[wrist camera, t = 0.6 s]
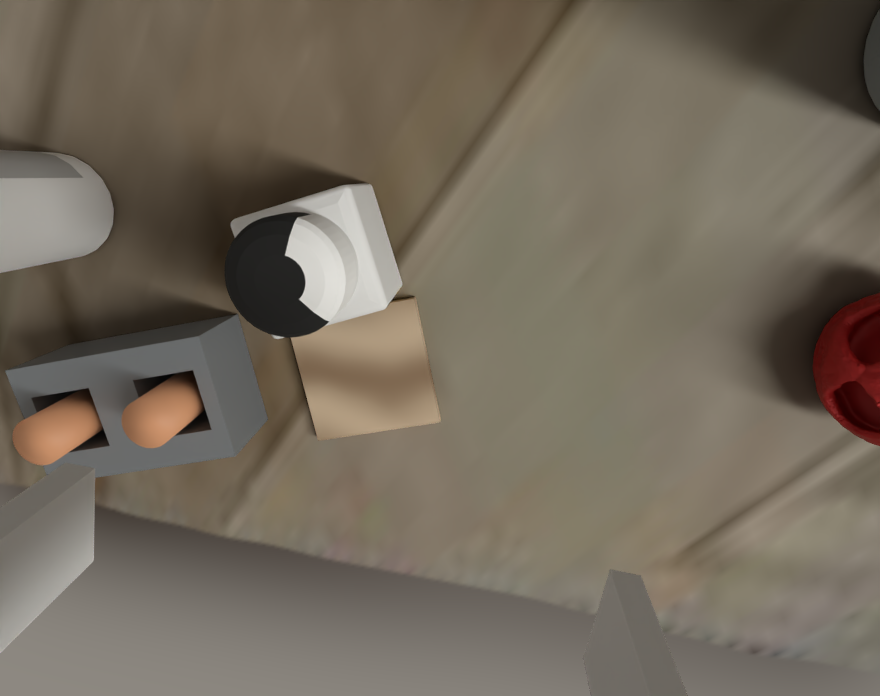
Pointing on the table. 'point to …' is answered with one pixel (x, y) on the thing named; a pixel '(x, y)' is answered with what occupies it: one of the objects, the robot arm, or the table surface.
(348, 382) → the cork pad
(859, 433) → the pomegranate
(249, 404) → the grey plunger block
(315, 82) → the table surface
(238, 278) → the medicine bottle
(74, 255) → the spray bottle
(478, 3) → the table surface
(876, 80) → the water bottle
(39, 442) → the plunger
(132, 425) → the plunger
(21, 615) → the robot arm
